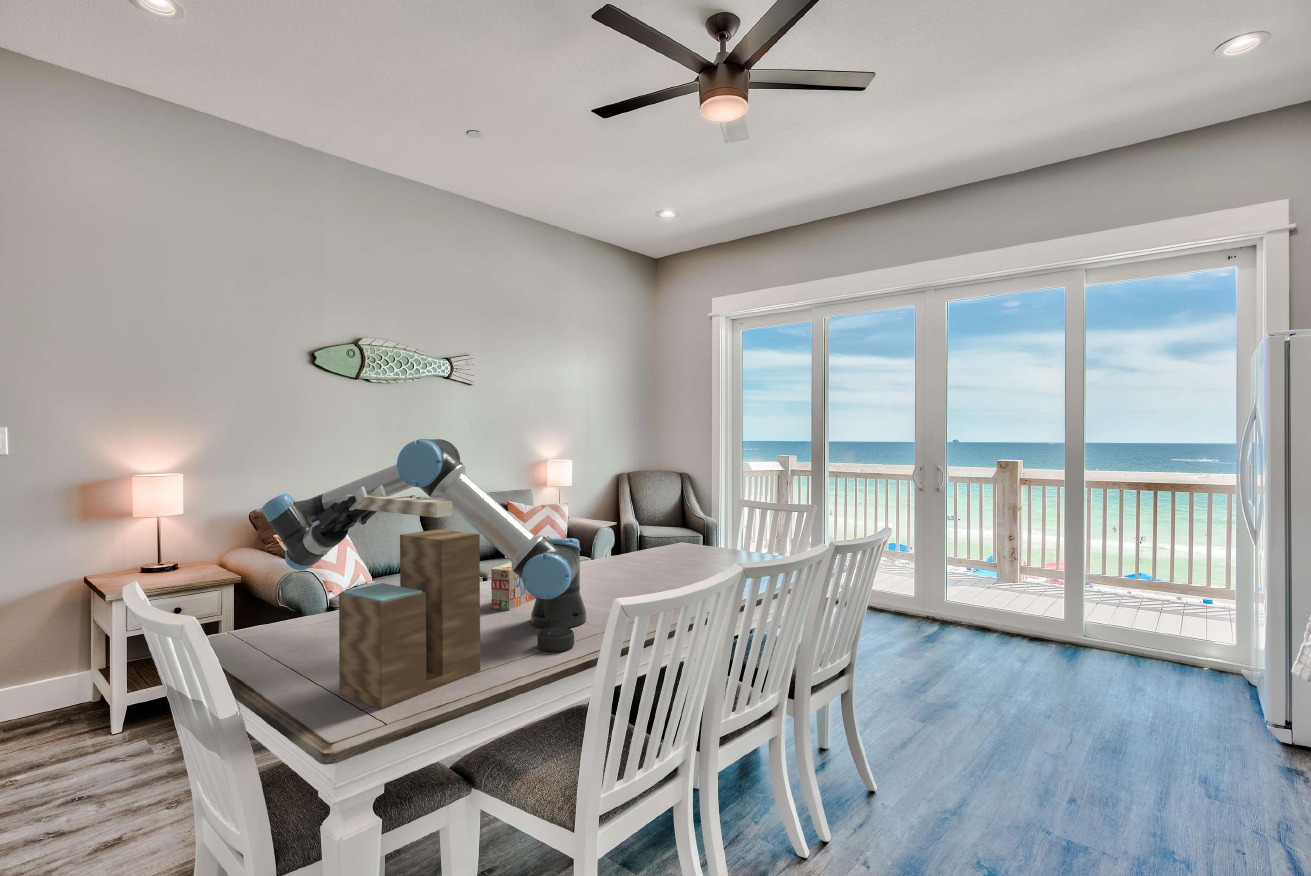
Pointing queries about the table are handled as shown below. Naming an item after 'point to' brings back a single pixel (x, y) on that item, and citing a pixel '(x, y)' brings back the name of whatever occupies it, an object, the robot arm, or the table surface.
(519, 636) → the table surface
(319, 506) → the robot arm
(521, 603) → the stack of blocks
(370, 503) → the birch bar
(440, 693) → the table surface
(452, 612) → the oak stand
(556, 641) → the smart speaker
